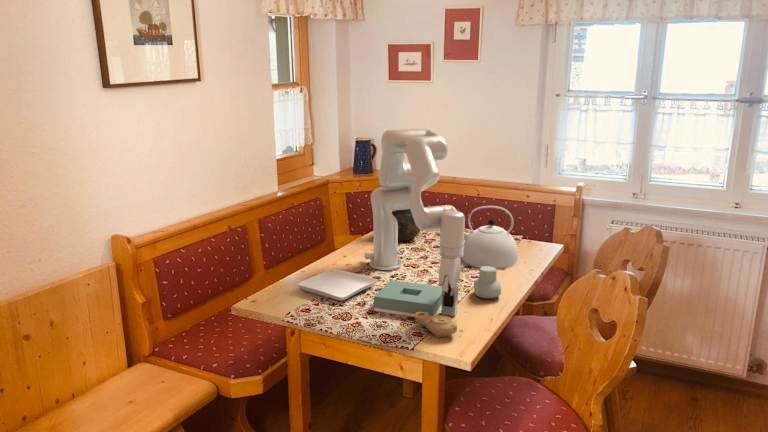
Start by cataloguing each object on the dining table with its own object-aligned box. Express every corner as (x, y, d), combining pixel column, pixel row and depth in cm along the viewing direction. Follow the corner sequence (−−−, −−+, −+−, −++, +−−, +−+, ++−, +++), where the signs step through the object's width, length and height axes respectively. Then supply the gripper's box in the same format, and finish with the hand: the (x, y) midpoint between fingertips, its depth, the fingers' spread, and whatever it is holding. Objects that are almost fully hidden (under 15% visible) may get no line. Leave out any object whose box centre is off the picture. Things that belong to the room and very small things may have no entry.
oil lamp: (416, 321, 197) (416, 306, 196) (461, 327, 193) (462, 312, 192) (407, 335, 188) (407, 320, 186) (454, 342, 183) (454, 326, 182)
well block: (374, 310, 205) (374, 296, 204) (390, 293, 220) (390, 280, 219) (432, 319, 199) (433, 304, 197) (445, 301, 213) (446, 287, 212)
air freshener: (472, 289, 223) (473, 263, 221) (496, 289, 223) (497, 263, 221) (477, 301, 213) (478, 274, 210) (501, 301, 213) (502, 274, 210)
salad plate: (379, 287, 226) (379, 278, 226) (342, 306, 210) (342, 297, 209) (333, 275, 238) (333, 267, 237) (295, 293, 221) (295, 283, 220)
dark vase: (403, 230, 296) (403, 172, 289) (429, 239, 283) (430, 178, 276) (373, 237, 285) (373, 177, 278) (399, 246, 272) (400, 183, 265)
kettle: (454, 266, 248) (455, 211, 242) (458, 249, 269) (459, 198, 263) (518, 270, 243) (521, 214, 237) (517, 252, 265) (520, 200, 259)
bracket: (441, 314, 202) (442, 285, 200) (443, 310, 205) (444, 282, 202) (454, 316, 201) (456, 287, 198) (457, 312, 204) (458, 284, 201)
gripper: (446, 241, 206) (445, 293, 211) (432, 256, 191) (431, 312, 196) (469, 244, 203) (466, 296, 208) (456, 259, 189) (454, 316, 193)
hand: (449, 303), depth 202 cm, fingers closed on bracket, 3 cm apart
